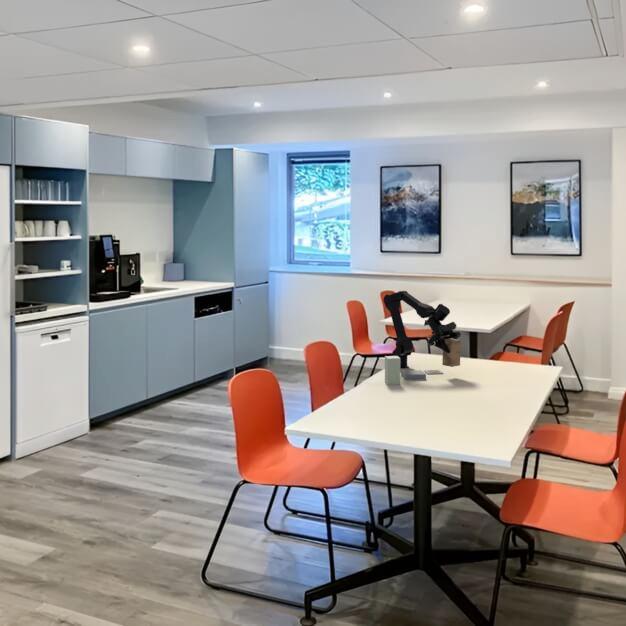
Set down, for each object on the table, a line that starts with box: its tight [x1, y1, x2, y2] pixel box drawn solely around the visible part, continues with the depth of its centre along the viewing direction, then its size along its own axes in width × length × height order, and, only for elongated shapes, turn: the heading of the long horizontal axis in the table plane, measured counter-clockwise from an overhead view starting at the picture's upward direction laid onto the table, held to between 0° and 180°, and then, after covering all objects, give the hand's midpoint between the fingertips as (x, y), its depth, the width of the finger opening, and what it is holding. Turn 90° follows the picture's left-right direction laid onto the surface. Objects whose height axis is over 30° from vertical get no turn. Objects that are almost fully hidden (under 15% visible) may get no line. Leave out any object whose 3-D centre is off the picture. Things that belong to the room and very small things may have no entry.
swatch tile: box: [423, 369, 444, 375], centre depth 376 cm, size 8×8×1 cm
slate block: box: [400, 369, 427, 381], centre depth 364 cm, size 10×10×3 cm
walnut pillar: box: [442, 338, 461, 368], centre depth 364 cm, size 6×6×12 cm
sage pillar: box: [384, 355, 401, 386], centre depth 351 cm, size 6×6×12 cm
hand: (453, 352), depth 362 cm, fingers closed on walnut pillar, 6 cm apart
